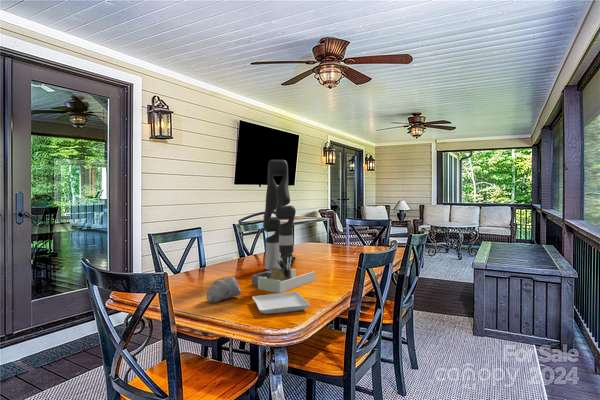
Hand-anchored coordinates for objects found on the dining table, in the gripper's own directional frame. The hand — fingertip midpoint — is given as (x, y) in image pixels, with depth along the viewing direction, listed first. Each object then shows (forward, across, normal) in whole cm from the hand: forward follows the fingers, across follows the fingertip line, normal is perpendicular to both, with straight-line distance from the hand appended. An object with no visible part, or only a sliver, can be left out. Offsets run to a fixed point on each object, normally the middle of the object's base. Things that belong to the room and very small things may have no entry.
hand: (286, 276), depth 200 cm
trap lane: (+5, -1, -5) cm, 7 cm away
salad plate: (+5, +32, +21) cm, 38 cm away
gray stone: (+4, +38, -7) cm, 39 cm away
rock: (+5, +5, -1) cm, 7 cm away
